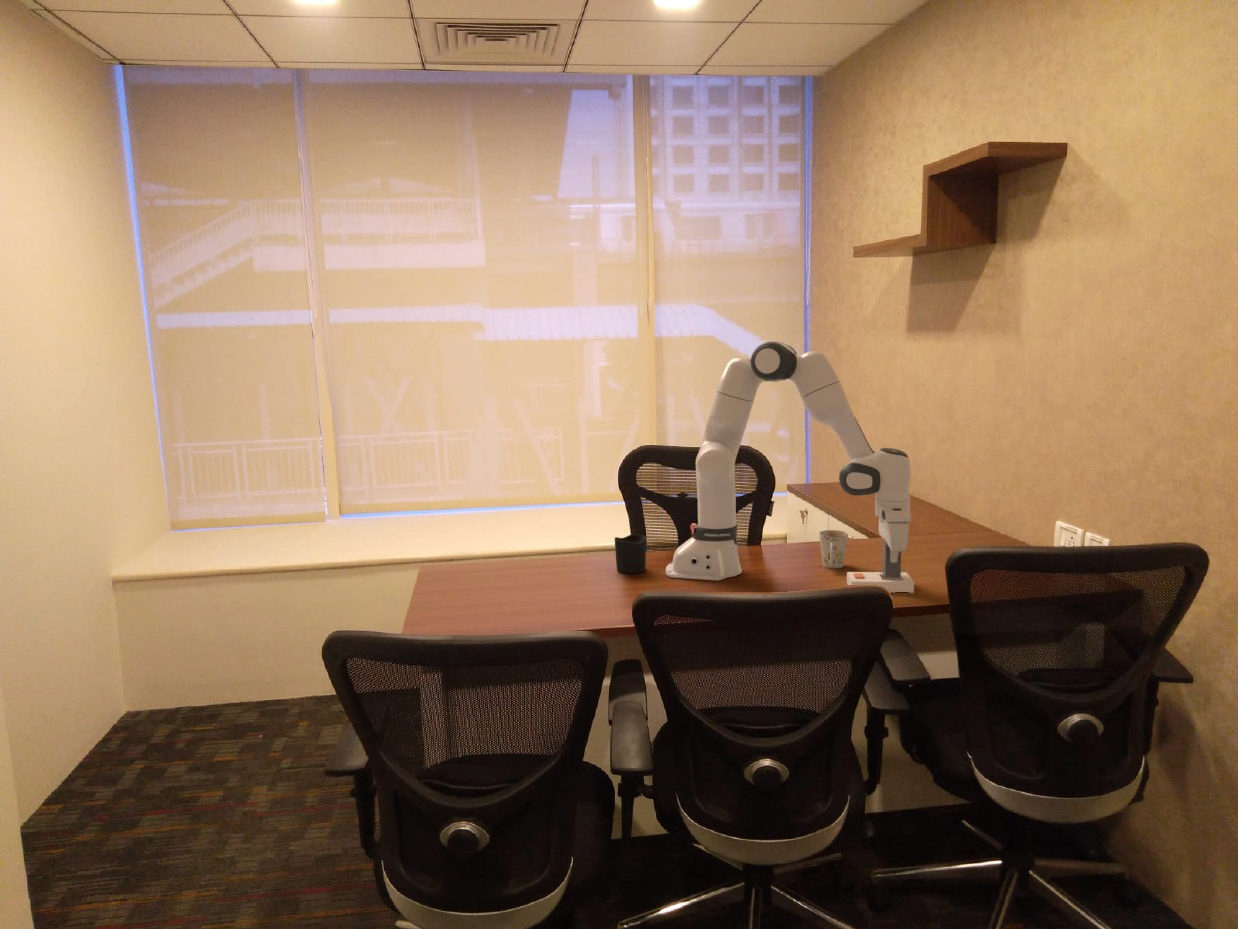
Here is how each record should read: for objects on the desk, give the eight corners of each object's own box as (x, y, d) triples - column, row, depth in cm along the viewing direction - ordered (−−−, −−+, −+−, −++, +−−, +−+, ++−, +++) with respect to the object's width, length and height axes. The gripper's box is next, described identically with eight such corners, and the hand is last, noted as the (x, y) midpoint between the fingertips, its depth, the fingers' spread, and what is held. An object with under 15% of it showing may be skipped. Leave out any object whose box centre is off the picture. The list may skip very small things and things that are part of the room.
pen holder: (643, 575, 238) (642, 542, 236) (612, 574, 240) (611, 541, 238) (649, 566, 247) (648, 534, 245) (619, 565, 249) (618, 534, 247)
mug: (847, 562, 244) (848, 530, 242) (847, 574, 232) (848, 540, 230) (819, 561, 246) (819, 529, 244) (818, 573, 234) (818, 539, 232)
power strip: (851, 592, 216) (851, 579, 215) (846, 582, 224) (847, 570, 224) (913, 593, 213) (914, 580, 213) (906, 582, 222) (906, 570, 222)
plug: (885, 577, 216) (885, 541, 215) (882, 573, 220) (883, 537, 219) (900, 577, 216) (901, 541, 214) (897, 573, 220) (898, 537, 218)
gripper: (873, 501, 226) (872, 549, 228) (887, 517, 206) (886, 569, 208) (896, 501, 225) (895, 549, 227) (913, 517, 205) (911, 569, 207)
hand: (891, 559), depth 217 cm, fingers closed on plug, 4 cm apart
